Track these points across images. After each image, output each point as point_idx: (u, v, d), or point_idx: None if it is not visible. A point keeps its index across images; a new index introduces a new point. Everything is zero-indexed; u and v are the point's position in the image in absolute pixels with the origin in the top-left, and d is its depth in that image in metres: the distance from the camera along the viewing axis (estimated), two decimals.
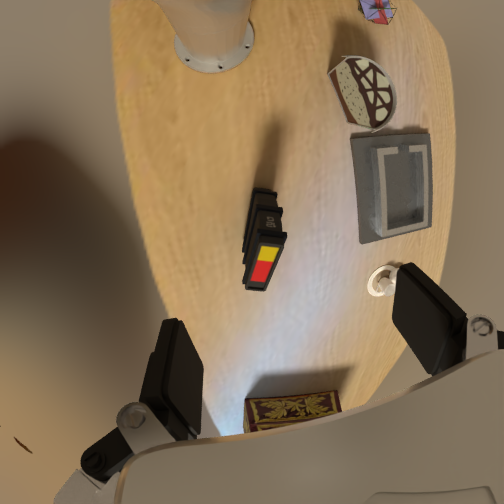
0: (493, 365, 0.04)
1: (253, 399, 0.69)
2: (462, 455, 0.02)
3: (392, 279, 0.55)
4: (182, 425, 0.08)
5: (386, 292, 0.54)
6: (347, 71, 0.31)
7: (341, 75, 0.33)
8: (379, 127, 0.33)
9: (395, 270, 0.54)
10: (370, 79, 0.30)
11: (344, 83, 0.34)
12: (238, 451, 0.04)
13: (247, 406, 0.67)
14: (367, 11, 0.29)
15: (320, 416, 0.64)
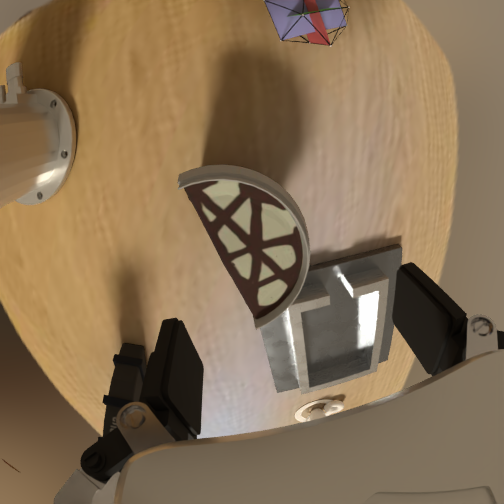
0: (493, 365, 0.04)
1: None
2: (462, 455, 0.02)
3: (327, 411, 0.42)
4: (182, 425, 0.08)
5: None
6: None
7: None
8: (264, 320, 0.20)
9: (331, 405, 0.41)
10: (244, 226, 0.17)
11: None
12: (238, 451, 0.04)
13: None
14: (284, 23, 0.16)
15: None
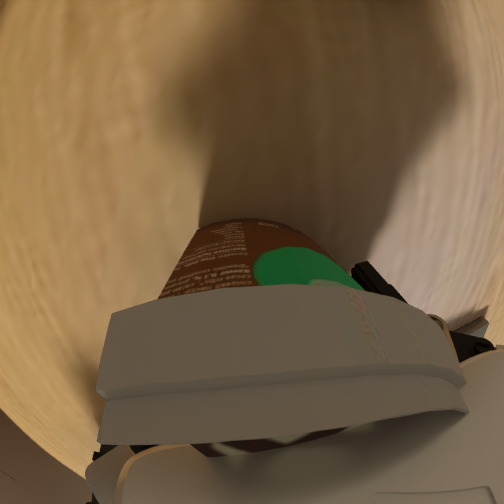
0: (493, 365, 0.04)
1: None
2: (462, 455, 0.02)
3: None
4: None
5: None
6: None
7: None
8: None
9: None
10: None
11: None
12: None
13: None
14: None
15: None
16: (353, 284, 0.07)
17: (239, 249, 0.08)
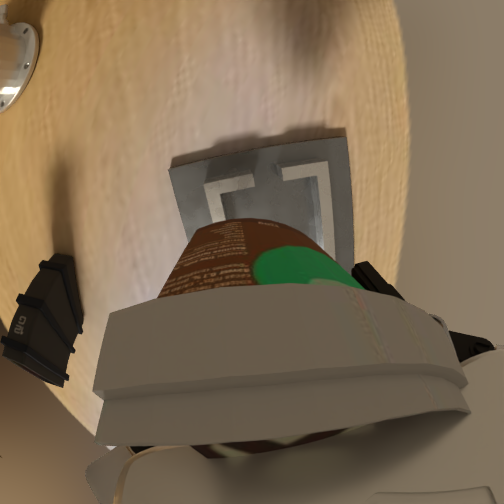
0: (493, 365, 0.04)
1: None
2: (462, 455, 0.02)
3: None
4: None
5: None
6: None
7: None
8: None
9: None
10: None
11: None
12: None
13: None
14: None
15: None
16: (353, 283, 0.07)
17: (239, 248, 0.08)
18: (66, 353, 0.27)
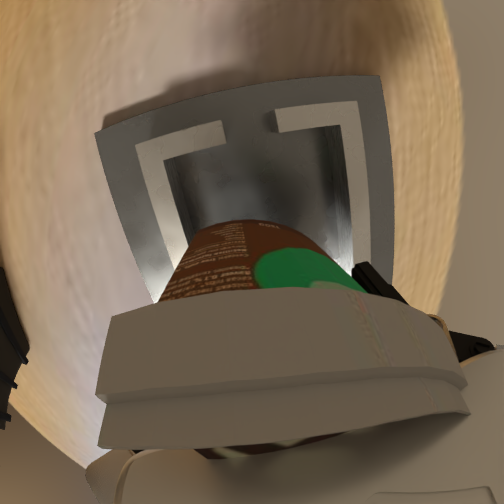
0: (493, 365, 0.04)
1: None
2: (462, 455, 0.02)
3: None
4: None
5: None
6: None
7: None
8: None
9: None
10: None
11: None
12: None
13: None
14: None
15: None
16: (354, 285, 0.07)
17: (240, 250, 0.08)
18: (4, 389, 0.15)
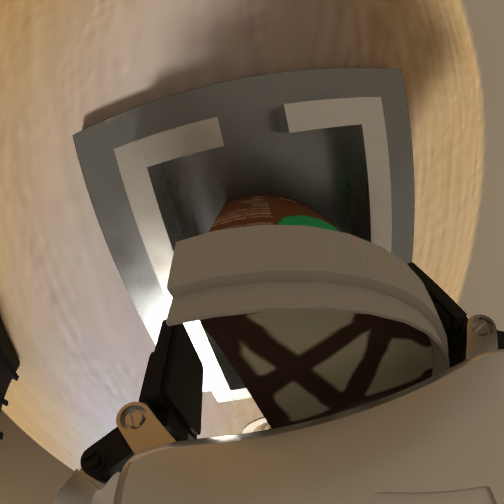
0: (493, 365, 0.04)
1: None
2: (462, 455, 0.02)
3: None
4: (182, 425, 0.08)
5: None
6: None
7: None
8: None
9: None
10: (337, 381, 0.06)
11: None
12: (239, 451, 0.04)
13: None
14: None
15: None
16: None
17: (265, 213, 0.09)
18: None
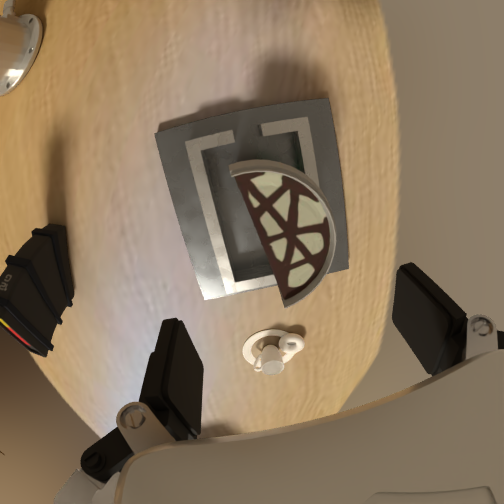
0: (493, 365, 0.04)
1: None
2: (462, 455, 0.02)
3: (283, 349, 0.37)
4: (182, 425, 0.08)
5: (271, 367, 0.37)
6: None
7: None
8: (292, 300, 0.22)
9: (286, 338, 0.36)
10: (282, 213, 0.20)
11: None
12: (239, 451, 0.04)
13: None
14: None
15: None
16: None
17: None
18: (52, 322, 0.27)
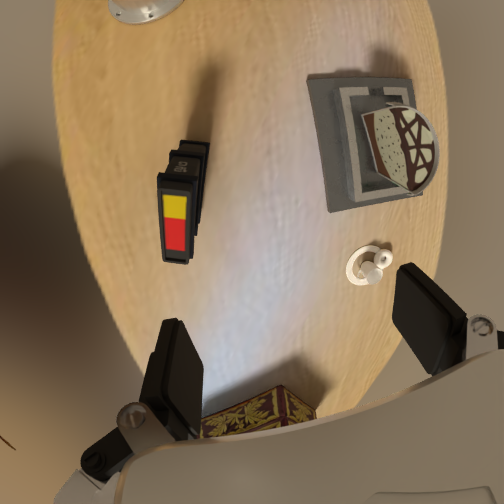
0: (493, 365, 0.04)
1: None
2: (462, 455, 0.02)
3: (377, 263, 0.45)
4: (182, 425, 0.08)
5: (370, 279, 0.44)
6: (390, 121, 0.28)
7: (380, 122, 0.30)
8: (417, 191, 0.30)
9: (381, 252, 0.44)
10: (414, 134, 0.27)
11: (382, 132, 0.31)
12: (239, 451, 0.04)
13: None
14: None
15: (259, 425, 0.52)
16: None
17: None
18: None
